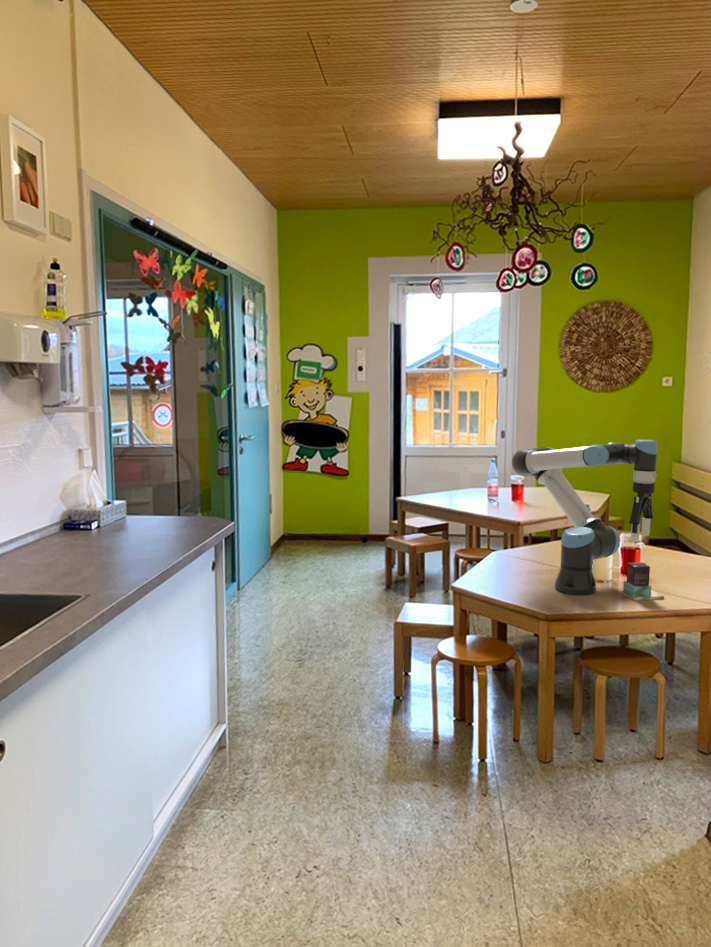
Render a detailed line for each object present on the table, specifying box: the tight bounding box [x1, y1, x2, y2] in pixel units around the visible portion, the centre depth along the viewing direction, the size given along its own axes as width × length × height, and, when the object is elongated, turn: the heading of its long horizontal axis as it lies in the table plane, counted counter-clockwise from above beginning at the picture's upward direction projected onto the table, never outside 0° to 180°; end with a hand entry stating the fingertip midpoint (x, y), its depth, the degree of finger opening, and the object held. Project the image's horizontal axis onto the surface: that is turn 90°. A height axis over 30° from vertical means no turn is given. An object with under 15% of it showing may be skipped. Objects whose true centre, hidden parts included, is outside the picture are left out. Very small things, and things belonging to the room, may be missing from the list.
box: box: [626, 562, 651, 586], centre depth 264 cm, size 6×6×7 cm
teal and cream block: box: [621, 580, 665, 601], centre depth 265 cm, size 12×8×5 cm, turn 100°
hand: (640, 538), depth 264 cm, fingers open, 13 cm apart
